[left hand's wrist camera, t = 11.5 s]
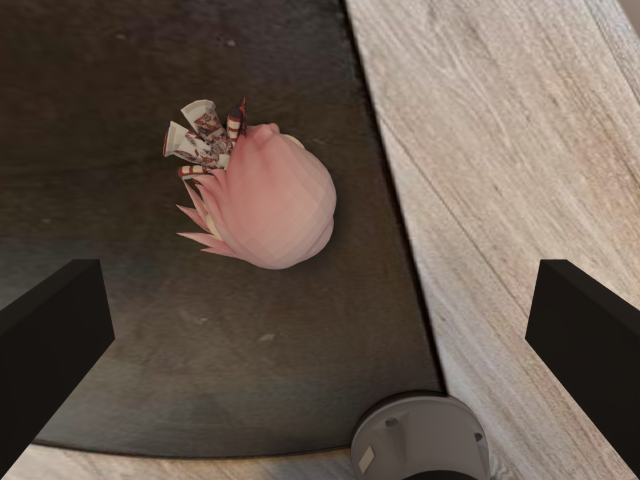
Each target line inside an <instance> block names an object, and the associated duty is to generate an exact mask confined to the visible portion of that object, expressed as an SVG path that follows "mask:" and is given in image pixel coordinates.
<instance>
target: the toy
mask: <svg viewBox="0 0 640 480" xmlns="http://www.w3.org/2000/svg"><path fill="white" fill-rule="evenodd" d="M239 102H241V103H239V104H237V105H236V106H237V107H233V108H232V109H231V110H230V111H229V114H227V115H228V119H227V120H226V122H225V123H226V124H223V125H222V123H221V121H220V119H219V117H218V115H217V114H216V112H215V111H214V109H215V107H216V106H215V104H214V103H213V102H212V101H208V100H199V101H195V102H193V103H191V104H189V105H187V106H186V107H184V108H183V109H181V111H182V113H183V115H184V116H185V117H186V119H187V120H188V121H189V123H190V124H191V127H190V128H189V130H187V129H185V128H183V127H182V126H180V125H178V124H176V123H174V122H172V121H167V122H165V123H164V125H163V128H164V129H165V130H166V132H167V133H166V138H165V143H164V150H163V155H164V156H169V155H172V154H174V155H176V156H178V157H181V158H183V159H185V160H188V161H190V162H193V163H197V164H200V165H197V166H184V167H179V168H177V169H176V171H175V176H176V177H177V178H178V179H179V180H183V181H184V180H185V179H189V180H190V179H191V180H192V181H194V182H195V183H197V184H199V183H200V184H202V185H203V186H204V187H205V188H204V187H203V186H201V185H197V184H195V185H196V186H197V188H198V189H199V190H200V192H201V195H202V197H203V199H202V198H201V197H200V196H199V195H198V194H197V193H196V192H195V191H194V190H193V189H192V188H191V187H190V186H189V185H188V184H187V183H186V182H185V181H184V183H185V185H186V187H187V190H188V192H189V194H190V196H191V198H192V200H193V202H194V204H195V207H196V209H192V208H187V207H183V206H179V205H176V206H178V207H179V208H180V209H181V210H183V211H184V212H185V213H186V214H188V215H189V216H190V217H191V218H192V219H193V220H194V221H195V222H196V223H197V224H198V225H199V226H201V227H202V228H203V229H204V230H206V231H207V232H209V233H210V234H212V235H210V234H205V233H177V234H180V235H183V236H185V237H188V238H191V239H194V240H196V241H198V242H200V243H203V244H205V245H208V246H210V247H209V248H205V249H201V250H203V251H207V252H212V253H216V254H220V255H225V256H230V257H236V258H239V259H243V260H246V261H248V262H250V263H252V264H254V265H256V266H260V267H263V268H267V269H283V268H288V267H290V266H292V265H294V264H296V263H299V262H301V261H304V260H307V259H308V258H310V257H312V256H314V255H316V254H317V253H318V252H319V251H321V250H322V249H323V248H324V247H325V245H326V244H327V242H328V241H329V239H330V237H331V234H332V230H333V224H334V220H333V214H334V210H335V206H336V191H335V187H334V184H333V182H332V179H331V176H330V174H329V173H328V171H327V169H326V168H325V167H324V165H323V164H322V163H321V162H320V161H319V160H318V159H317V158H316V157H315V156H314V155H313V154H311V153H310V152H308V151H306V150H305V148H304V146H303V145H302V144H301V143H300V142H299V141H298V140H296V139H295V138H294V137H292V136H289V135H283V134H280V130H279V127H278V126H277V125H276V124H274V123H271V124H267V125H266V124H261V125H258V126H246V122H247V119H246V106H247V105H246V101H245V97H244V99H242V100H240V101H239ZM243 103H244V104H243ZM225 129H227V132H226V131H225ZM258 268H259V267H258Z"/></svg>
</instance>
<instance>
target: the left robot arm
mask: <svg viewBox="0 0 640 480" xmlns="http://www.w3.org/2000/svg"><path fill="white" fill-rule="evenodd" d="M114 340H115V335H114V330H113V325H112V320H111V315H110V310H109V305H108V300H107V295H106V290H105V285H104V280H103V275H102V270H101V265H100V260H99V259H74V260H72V261H71V262H69V263H68V264H66V265H65V266H64V267H62V268H61V269H59V270H58V271H56V272H55V273H54V274H52V275H51V276H49V277H48V278H46V279H45V280H44V281H42V282H41V283H39V284H38V285H36V286H35V287H34V288H32V289H31V290H29V291H28V292H26V293H25V294H24V295H22V296H21V297H19V298H18V299H16V300H15V301H14V302H12V303H11V304H9V305H8V306H7V307H5V308H4V309H2V310H1V311H0V480H1V479H2V477H3V476H4V475H5V474H6V473H7V471H8V470H9V469H10V468H11V466H12V465H13V464H14V463H15V461H16V460H17V459H18V458H19V457H20V455H21V454H22V453H23V452H24V450H25V449H26V448H27V447H28V445H29V444H30V443H31V442H32V441H33V439H34V438H35V437H36V436H37V434H38V433H39V432H40V431H41V429H42V428H43V427H44V426H45V425H46V423H47V422H48V421H49V420H50V418H51V417H52V416H53V415H54V413H55V412H56V411H57V410H58V409H59V407H60V406H61V405H62V404H63V402H64V401H65V400H66V399H67V397H68V396H69V395H70V394H71V393H72V391H73V390H74V389H75V388H76V386H77V385H78V384H79V383H80V381H81V380H82V379H83V378H84V377H85V375H86V374H87V373H88V372H89V370H90V369H91V368H92V367H93V365H94V364H95V363H96V362H97V361H98V359H99V358H100V357H101V356H102V354H103V353H104V352H105V351H106V349H107V348H108V347H109V346H110V345H111V343H112V342H113V341H114ZM525 340H526V341H527V342H528V343H529V345H530V346H531V347H532V348H533V349H534V351H535V352H536V353H537V354H538V356H539V357H540V358H541V359H542V361H543V362H544V363H545V364H546V365H547V367H548V368H549V369H550V370H551V372H552V373H553V374H554V375H555V377H556V378H557V379H558V380H559V381H560V383H561V384H562V385H563V386H564V388H565V389H566V390H567V391H568V393H569V394H570V395H571V396H572V397H573V399H574V400H575V401H576V402H577V404H578V405H579V406H580V407H581V409H582V410H583V411H584V412H585V413H586V415H587V416H588V417H589V418H590V420H591V421H592V422H593V423H594V425H595V426H596V427H597V428H598V429H599V431H600V432H601V433H602V434H603V436H604V437H605V438H606V439H607V441H608V442H609V443H610V444H611V445H612V447H613V448H614V449H615V450H616V452H617V453H618V454H619V455H620V457H621V458H622V459H623V460H624V461H625V463H626V464H627V465H628V466H629V468H630V469H631V470H632V471H633V473H634V474H635V475H636V476H637V477H638V479H639V480H640V311H639V310H638V309H636V308H635V307H633V306H632V305H631V304H629V303H628V302H626V301H625V300H624V299H622V298H621V297H619V296H618V295H616V294H615V293H614V292H612V291H611V290H609V289H608V288H606V287H605V286H604V285H602V284H601V283H599V282H598V281H596V280H595V279H594V278H592V277H591V276H589V275H588V274H586V273H585V272H584V271H582V270H581V269H579V268H578V267H576V266H575V265H574V264H572V263H571V262H569V261H568V260H566V259H541V260H540V265H539V270H538V275H537V280H536V285H535V290H534V295H533V300H532V305H531V310H530V315H529V320H528V325H527V330H526V335H525ZM350 449H351V460H352V465H353V469H354V472H355V475H356V477H357V480H490V467H489V453H488V445H487V441H486V437H485V434H484V431H483V429H482V427H481V425H480V423H479V421H478V419H477V417H476V416H475V414H474V413H473V412H472V410H471V409H470V408H469V407H467V406H466V405H465V404H464V403H462V402H461V401H459V400H457V399H455V398H453V397H451V396H448V395H445V394H442V393H438V392H431V391H412V392H406V393H401V394H397V395H394V396H391V397H389V398H386V399H384V400H382V401H381V402H379V403H377V404H376V405H374V406H373V407H371V408H370V409H369V410H368V411H367V412H366V413H365V414H364V415H363V416H362V417H361V418H360V420H359V421H358V423H357V424H356V426H355V428H354V430H353V433H352V437H351V443H350Z"/></svg>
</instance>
